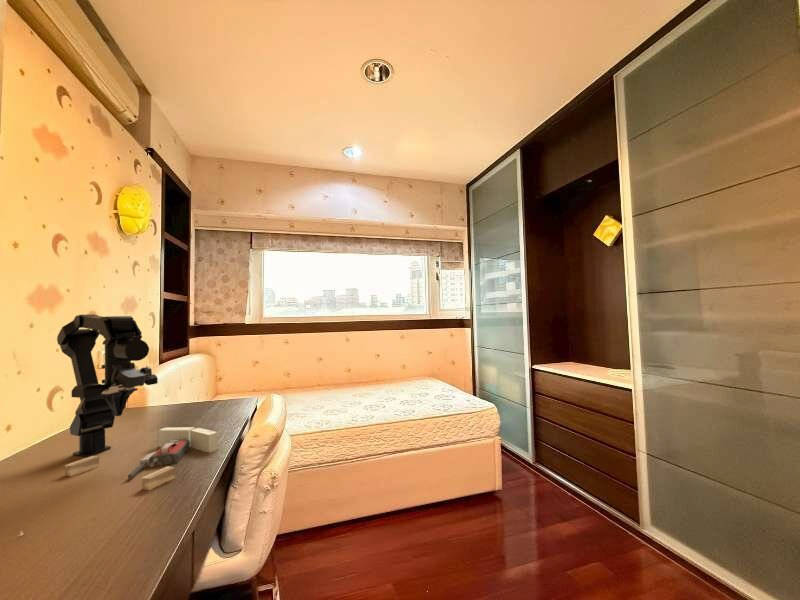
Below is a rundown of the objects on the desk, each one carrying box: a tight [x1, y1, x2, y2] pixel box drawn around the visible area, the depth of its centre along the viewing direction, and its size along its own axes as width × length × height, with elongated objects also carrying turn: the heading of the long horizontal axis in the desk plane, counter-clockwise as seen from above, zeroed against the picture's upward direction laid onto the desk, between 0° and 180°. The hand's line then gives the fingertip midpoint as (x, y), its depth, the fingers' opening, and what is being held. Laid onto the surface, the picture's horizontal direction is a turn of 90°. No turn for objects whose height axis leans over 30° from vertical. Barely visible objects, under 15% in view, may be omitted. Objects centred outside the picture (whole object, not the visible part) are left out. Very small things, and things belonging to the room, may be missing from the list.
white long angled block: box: [158, 426, 219, 453], centre depth 102 cm, size 21×4×5 cm, turn 71°
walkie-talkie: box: [127, 439, 191, 479], centre depth 91 cm, size 9×4×20 cm
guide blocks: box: [64, 455, 176, 491], centre depth 83 cm, size 30×6×2 cm, turn 71°
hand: (118, 415), depth 95 cm, fingers closed
